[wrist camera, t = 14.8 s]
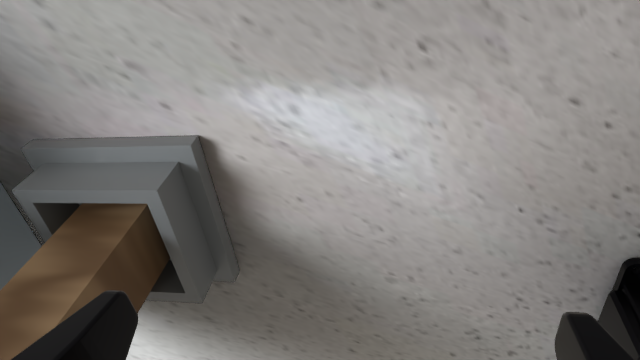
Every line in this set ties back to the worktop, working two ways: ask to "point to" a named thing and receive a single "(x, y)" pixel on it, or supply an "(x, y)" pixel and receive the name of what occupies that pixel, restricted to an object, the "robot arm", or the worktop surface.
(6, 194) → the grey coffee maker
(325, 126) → the worktop surface
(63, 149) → the socket
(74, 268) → the peg
